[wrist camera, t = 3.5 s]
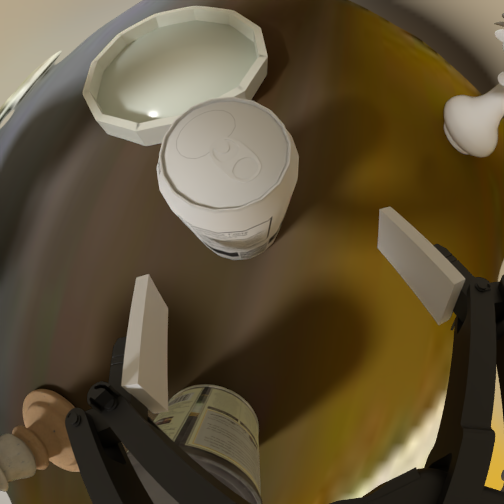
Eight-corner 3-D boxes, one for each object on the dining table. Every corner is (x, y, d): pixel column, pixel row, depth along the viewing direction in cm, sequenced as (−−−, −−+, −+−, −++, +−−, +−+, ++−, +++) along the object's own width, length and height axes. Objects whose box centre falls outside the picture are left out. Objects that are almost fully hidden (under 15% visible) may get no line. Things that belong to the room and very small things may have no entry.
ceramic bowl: (67, 122, 32) (55, 110, 28) (155, 17, 35) (150, 3, 31) (212, 169, 30) (207, 154, 27) (289, 39, 33) (291, 22, 30)
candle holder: (67, 476, 24) (-12, 540, 4) (16, 407, 26) (-81, 440, 6) (114, 453, 25) (22, 544, 5) (54, 372, 27) (-73, 408, 7)
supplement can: (182, 220, 29) (122, 154, 14) (241, 167, 30) (230, 70, 15) (237, 278, 28) (217, 259, 14) (296, 220, 29) (334, 150, 14)
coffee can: (227, 477, 25) (213, 563, 11) (148, 431, 26) (90, 499, 12) (279, 415, 26) (296, 497, 12) (193, 364, 27) (142, 418, 13)
